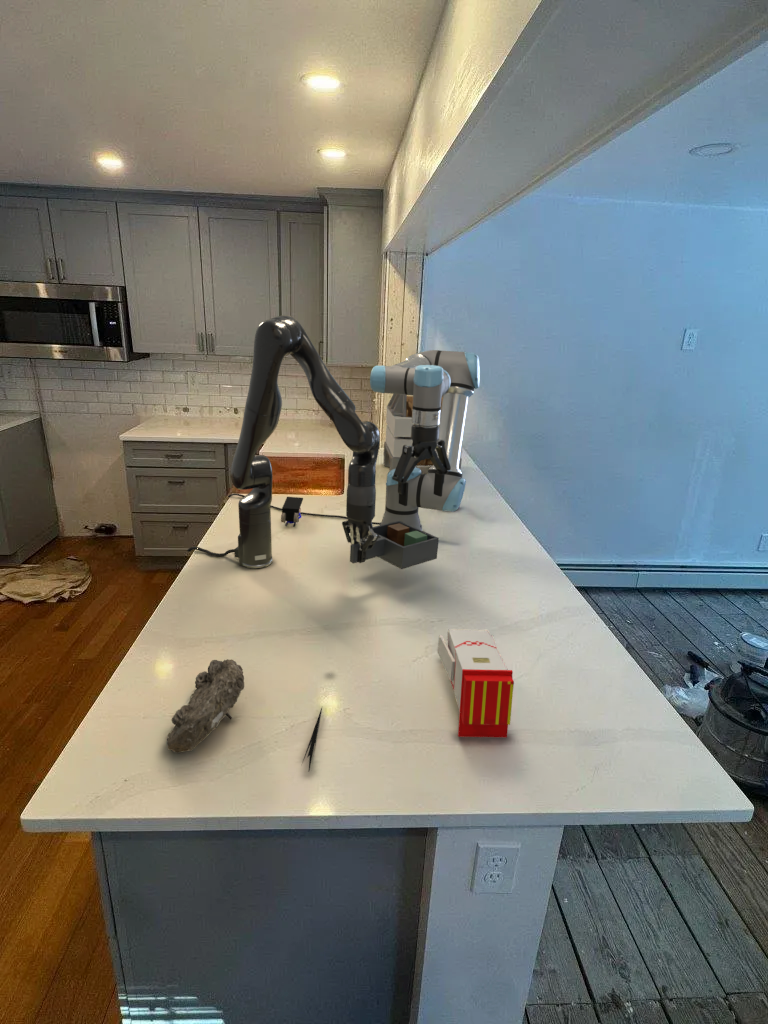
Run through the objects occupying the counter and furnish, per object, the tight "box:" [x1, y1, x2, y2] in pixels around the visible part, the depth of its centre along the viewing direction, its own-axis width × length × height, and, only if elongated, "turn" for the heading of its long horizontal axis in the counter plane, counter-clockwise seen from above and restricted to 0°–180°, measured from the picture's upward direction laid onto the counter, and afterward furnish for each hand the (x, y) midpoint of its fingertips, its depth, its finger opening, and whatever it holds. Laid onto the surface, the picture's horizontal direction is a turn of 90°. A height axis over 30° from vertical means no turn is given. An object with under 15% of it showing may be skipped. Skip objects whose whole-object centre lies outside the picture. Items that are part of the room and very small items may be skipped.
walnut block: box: [387, 523, 409, 547], centre depth 165 cm, size 4×4×6 cm
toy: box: [437, 628, 515, 738], centre depth 117 cm, size 12×13×30 cm
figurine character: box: [280, 496, 304, 528], centre depth 205 cm, size 7×8×15 cm
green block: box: [404, 531, 427, 546], centre depth 160 cm, size 4×4×6 cm
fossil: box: [166, 658, 245, 754], centre depth 106 cm, size 22×10×15 cm
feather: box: [301, 673, 332, 771], centre depth 108 cm, size 2×28×2 cm
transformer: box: [383, 394, 464, 472], centre depth 268 cm, size 34×33×41 cm
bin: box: [349, 521, 440, 571], centre depth 158 cm, size 17×24×6 cm
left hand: (359, 560), depth 152 cm, fingers closed on bin, 1 cm apart
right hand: (420, 499), depth 159 cm, fingers open, 13 cm apart
